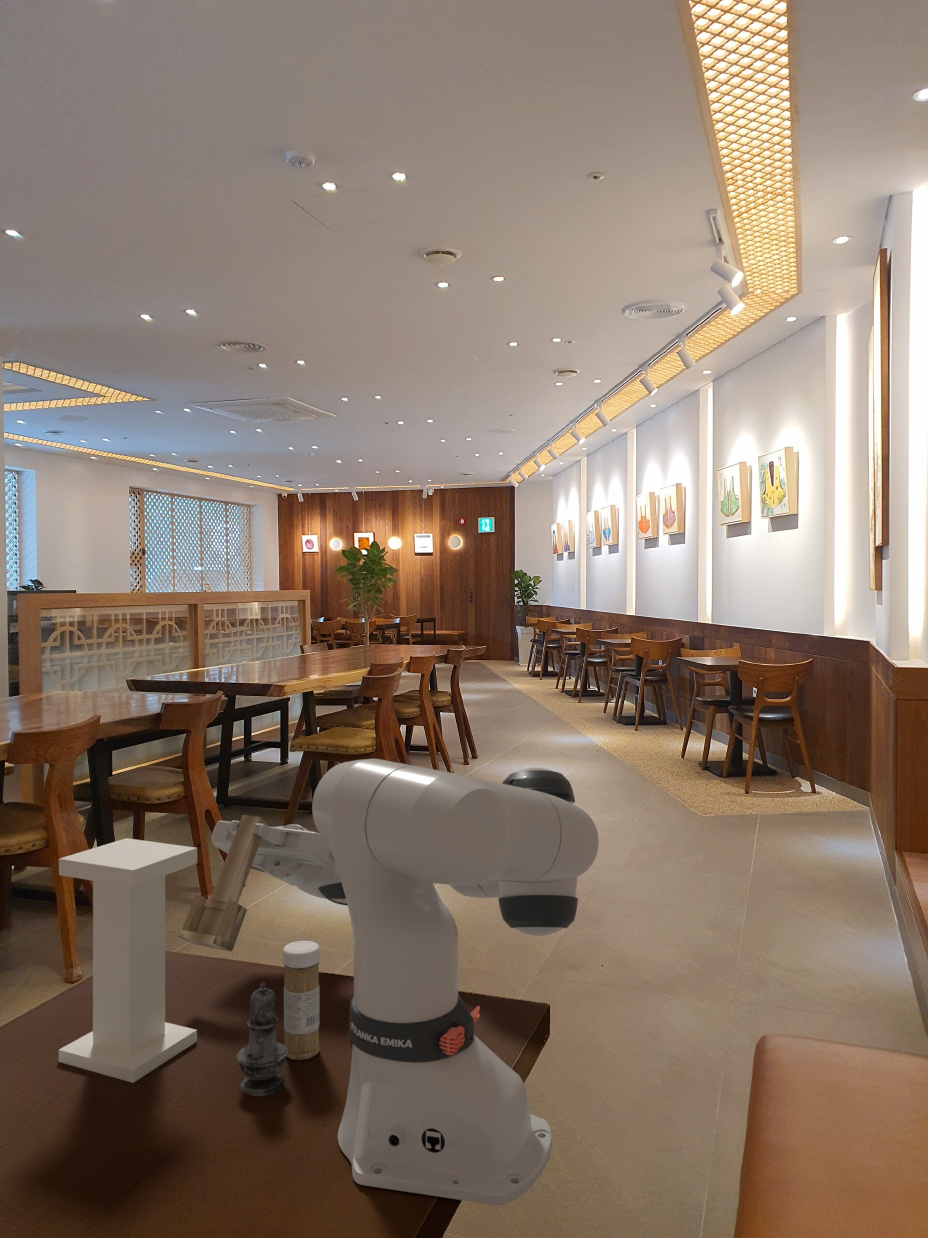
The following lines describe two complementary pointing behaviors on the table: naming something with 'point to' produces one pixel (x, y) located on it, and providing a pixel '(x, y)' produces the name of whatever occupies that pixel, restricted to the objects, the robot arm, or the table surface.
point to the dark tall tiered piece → (262, 1048)
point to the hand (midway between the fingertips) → (245, 827)
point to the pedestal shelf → (128, 958)
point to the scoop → (225, 894)
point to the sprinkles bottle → (301, 999)
